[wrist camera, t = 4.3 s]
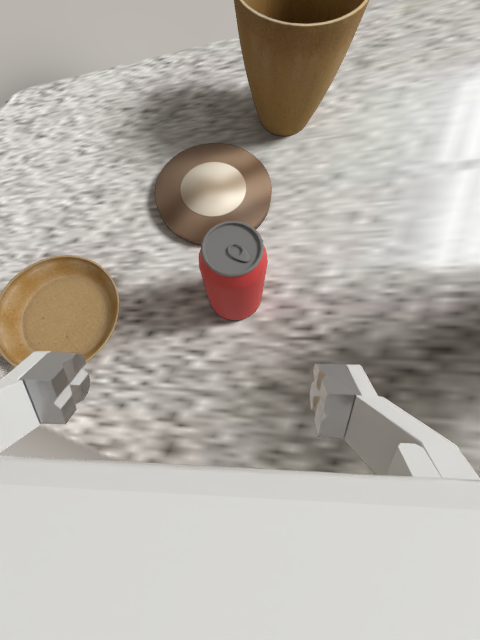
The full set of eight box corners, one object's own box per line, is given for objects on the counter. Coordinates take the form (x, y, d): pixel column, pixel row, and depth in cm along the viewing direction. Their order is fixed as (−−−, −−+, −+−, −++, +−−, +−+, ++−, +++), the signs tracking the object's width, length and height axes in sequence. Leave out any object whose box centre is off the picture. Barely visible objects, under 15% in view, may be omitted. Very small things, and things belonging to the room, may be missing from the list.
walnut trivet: (293, 204, 42) (295, 196, 40) (201, 267, 39) (199, 261, 37) (225, 135, 45) (224, 125, 44) (136, 188, 43) (132, 180, 41)
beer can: (238, 332, 36) (236, 296, 25) (198, 299, 37) (179, 250, 26) (271, 294, 38) (284, 243, 26) (232, 264, 39) (228, 202, 27)
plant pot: (230, 89, 48) (225, -61, 33) (321, 81, 49) (357, -71, 33) (240, 161, 44) (239, 27, 29) (339, 152, 44) (391, 15, 29)
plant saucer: (146, 339, 36) (139, 334, 34) (29, 400, 34) (12, 400, 32) (101, 247, 40) (92, 236, 38) (-7, 297, 38) (-24, 289, 36)
